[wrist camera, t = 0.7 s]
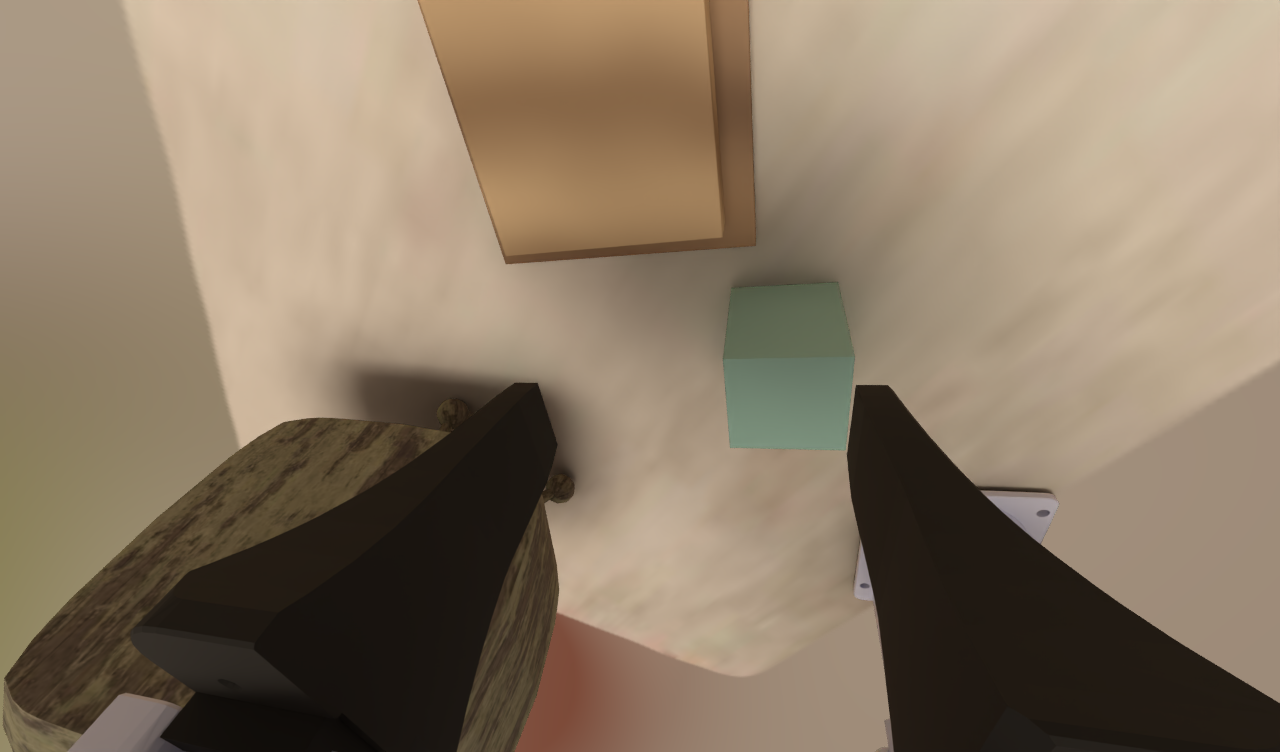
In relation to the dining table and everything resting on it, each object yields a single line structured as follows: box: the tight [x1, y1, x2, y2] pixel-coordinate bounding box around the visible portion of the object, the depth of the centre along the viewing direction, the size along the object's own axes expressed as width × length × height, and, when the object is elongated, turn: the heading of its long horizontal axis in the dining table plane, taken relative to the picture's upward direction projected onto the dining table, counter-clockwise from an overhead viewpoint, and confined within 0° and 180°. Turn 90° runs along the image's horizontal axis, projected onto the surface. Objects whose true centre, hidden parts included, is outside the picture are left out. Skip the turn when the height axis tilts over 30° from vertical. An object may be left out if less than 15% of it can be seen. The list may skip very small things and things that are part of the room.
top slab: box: [419, 0, 725, 256], centre depth 16 cm, size 8×8×2 cm
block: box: [723, 282, 855, 450], centre depth 19 cm, size 4×4×5 cm
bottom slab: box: [418, 0, 756, 264], centre depth 18 cm, size 10×10×2 cm
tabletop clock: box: [3, 399, 574, 752], centre depth 19 cm, size 14×9×25 cm, turn 91°
